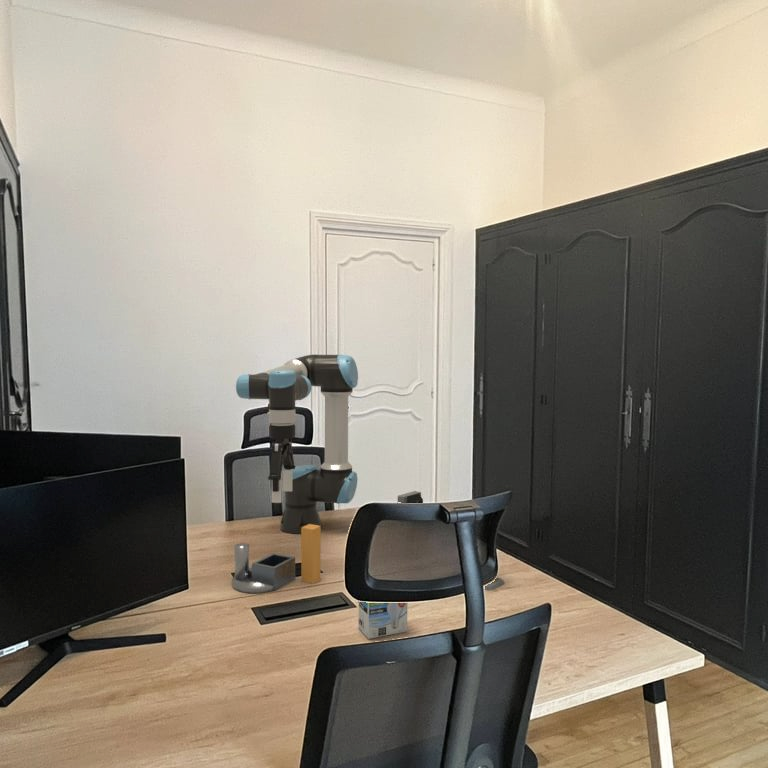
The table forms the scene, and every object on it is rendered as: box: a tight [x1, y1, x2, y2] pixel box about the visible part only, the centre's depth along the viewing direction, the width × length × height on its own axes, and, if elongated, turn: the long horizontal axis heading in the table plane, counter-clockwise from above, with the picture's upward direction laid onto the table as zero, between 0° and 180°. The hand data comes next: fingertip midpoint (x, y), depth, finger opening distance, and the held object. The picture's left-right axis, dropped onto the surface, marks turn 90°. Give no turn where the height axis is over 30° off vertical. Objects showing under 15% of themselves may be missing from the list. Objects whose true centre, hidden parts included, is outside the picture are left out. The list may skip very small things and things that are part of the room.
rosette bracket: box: [231, 542, 296, 595], centre depth 183 cm, size 15×15×11 cm
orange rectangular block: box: [300, 524, 322, 585], centre depth 185 cm, size 4×4×16 cm
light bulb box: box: [357, 601, 409, 640], centre depth 154 cm, size 11×7×11 cm, turn 115°
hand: (282, 496), depth 184 cm, fingers open, 13 cm apart
